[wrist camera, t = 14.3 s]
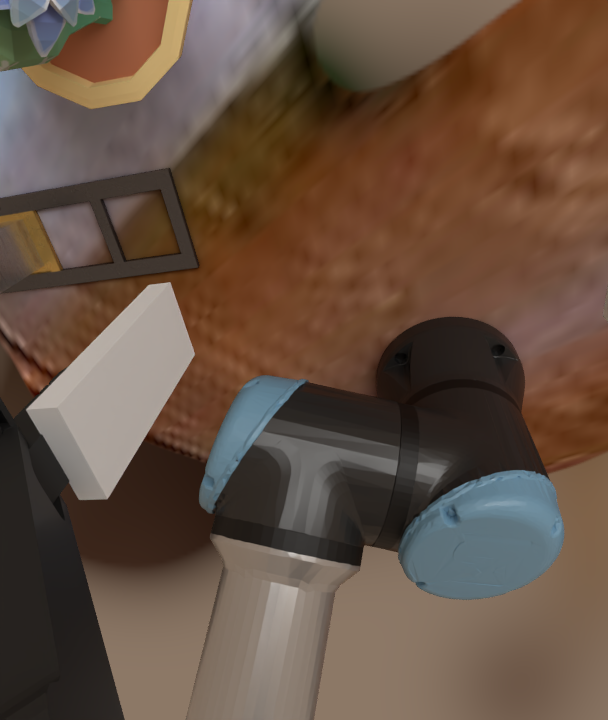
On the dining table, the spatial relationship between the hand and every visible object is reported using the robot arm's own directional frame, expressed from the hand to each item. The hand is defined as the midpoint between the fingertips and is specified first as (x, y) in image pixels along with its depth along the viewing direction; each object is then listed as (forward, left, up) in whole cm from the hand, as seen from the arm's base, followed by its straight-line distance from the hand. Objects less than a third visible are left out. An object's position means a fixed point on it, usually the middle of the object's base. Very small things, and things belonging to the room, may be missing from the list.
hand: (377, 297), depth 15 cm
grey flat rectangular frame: (-4, +31, -32) cm, 45 cm away
